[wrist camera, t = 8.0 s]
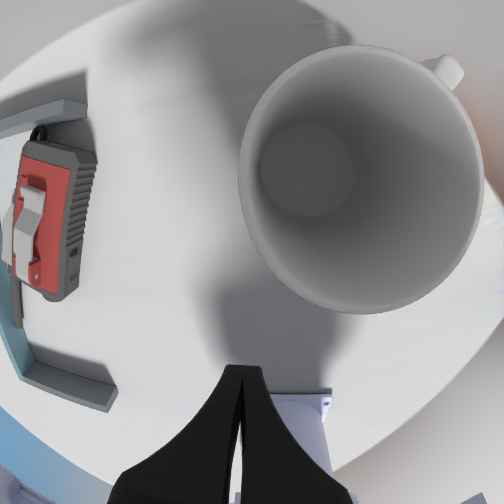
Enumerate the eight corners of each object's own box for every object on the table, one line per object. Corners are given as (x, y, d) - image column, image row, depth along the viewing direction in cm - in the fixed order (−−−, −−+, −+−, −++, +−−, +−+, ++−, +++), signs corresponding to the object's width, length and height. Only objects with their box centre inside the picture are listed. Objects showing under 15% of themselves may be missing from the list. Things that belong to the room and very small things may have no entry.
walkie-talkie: (33, 122, 16) (19, 317, 22) (-3, 121, 12) (-4, 337, 18) (108, 139, 17) (80, 354, 23) (73, 135, 13) (59, 380, 19)
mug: (309, 242, 19) (375, 355, 7) (229, 176, 18) (175, 200, 6) (401, 133, 16) (539, 122, 5) (328, 65, 15) (409, -37, 4)
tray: (118, 393, 24) (107, 413, 21) (32, 365, 24) (19, 379, 21) (87, 104, 16) (64, 99, 13) (-6, 131, 16) (-28, 131, 13)
